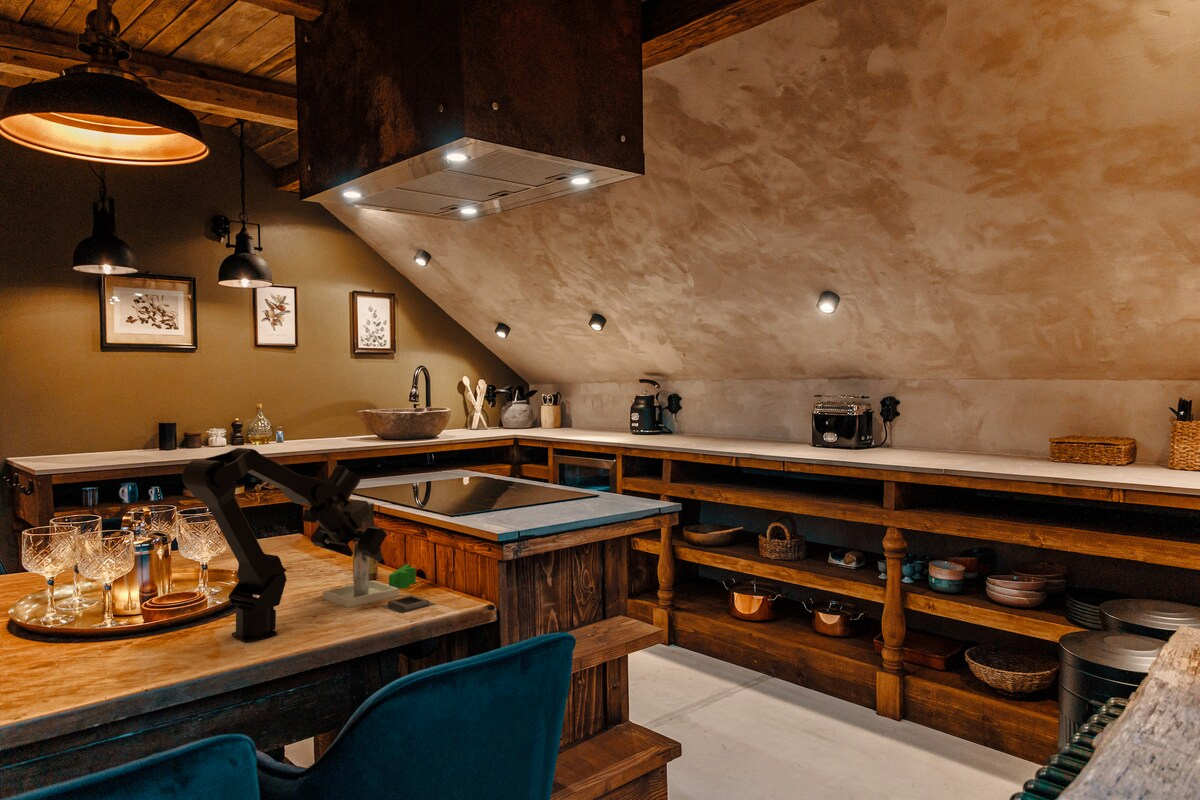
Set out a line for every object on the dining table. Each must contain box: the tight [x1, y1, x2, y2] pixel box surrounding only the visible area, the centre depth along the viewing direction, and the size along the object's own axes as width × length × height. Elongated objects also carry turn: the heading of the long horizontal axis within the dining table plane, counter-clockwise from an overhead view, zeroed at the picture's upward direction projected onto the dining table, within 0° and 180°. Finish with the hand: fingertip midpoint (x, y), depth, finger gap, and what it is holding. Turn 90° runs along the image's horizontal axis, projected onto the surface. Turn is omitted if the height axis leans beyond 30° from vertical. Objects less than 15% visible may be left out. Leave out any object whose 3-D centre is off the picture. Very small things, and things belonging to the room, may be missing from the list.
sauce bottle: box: [352, 501, 379, 581], centre depth 195 cm, size 6×6×20 cm
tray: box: [322, 579, 400, 609], centre depth 177 cm, size 14×11×2 cm
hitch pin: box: [352, 541, 369, 598], centre depth 177 cm, size 4×4×14 cm
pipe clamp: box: [388, 564, 417, 589], centre depth 188 cm, size 11×4×5 cm, turn 173°
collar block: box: [379, 594, 437, 614], centre depth 172 cm, size 10×8×1 cm
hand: (366, 557), depth 178 cm, fingers open, 9 cm apart
